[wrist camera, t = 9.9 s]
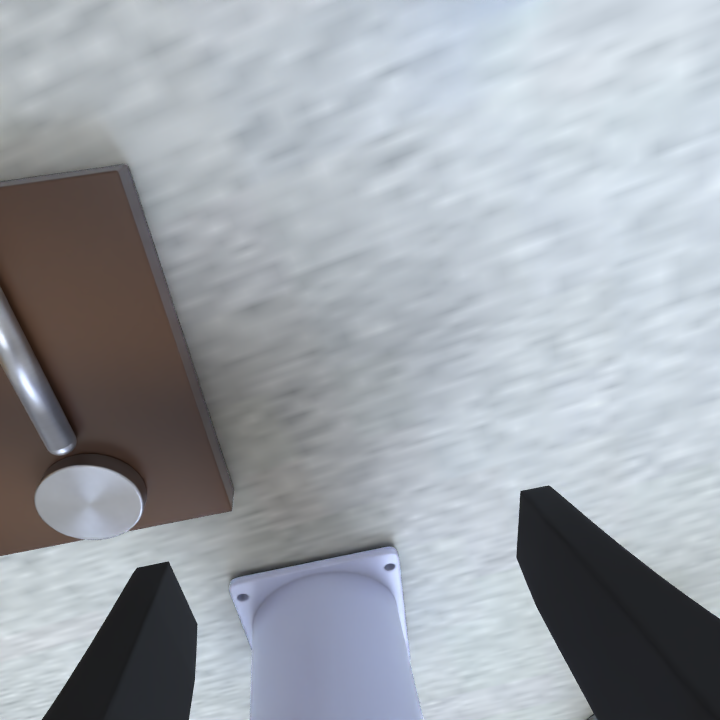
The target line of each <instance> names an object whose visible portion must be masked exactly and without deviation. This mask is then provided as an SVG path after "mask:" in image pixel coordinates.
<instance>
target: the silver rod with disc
mask: <svg viewBox="0 0 720 720" xmlns="http://www.w3.org/2000/svg"><path fill="white" fill-rule="evenodd" d="M0 364H1V366H2V368H3V370H4V371H5V373H6V375H7V377H8V379H9V381H10V382H11V384H12V386H13V388H14V390H15V392H16V393H17V395H18V397H19V399H20V401H21V402H22V404H23V406H24V408H25V410H26V412H27V413H28V415H29V417H30V419H31V421H32V423H33V424H34V426H35V428H36V430H37V432H38V433H39V435H40V437H41V439H42V441H43V443H44V444H45V446H46V448H47V450H48V451H49V452H50V453H52V454H54V455H58V456H62V455H66V454H68V453H70V452H71V451H72V450H73V449H74V448H75V446H76V443H77V440H76V436H75V434H74V432H73V430H72V428H71V426H70V424H69V422H68V420H67V418H66V416H65V414H64V412H63V410H62V408H61V406H60V404H59V402H58V400H57V398H56V396H55V394H54V392H53V390H52V388H51V386H50V384H49V382H48V380H47V378H46V376H45V374H44V372H43V370H42V368H41V366H40V364H39V362H38V360H37V358H36V356H35V354H34V352H33V350H32V348H31V346H30V344H29V342H28V341H27V339H26V337H25V335H24V333H23V331H22V329H21V327H20V325H19V323H18V321H17V319H16V317H15V315H14V313H13V311H12V309H11V307H10V305H9V303H8V301H7V299H6V297H5V295H4V293H3V291H2V289H1V287H0ZM146 499H147V490H146V486H145V483H144V481H143V479H142V478H141V476H140V475H139V474H138V473H137V472H136V471H135V470H134V469H133V468H132V467H130V466H129V465H128V464H126V463H124V462H122V461H120V460H118V459H115V458H113V457H109V456H105V455H99V454H79V455H74V456H70V457H67V458H64V459H62V460H60V461H58V462H56V463H55V464H53V465H52V466H51V467H50V468H49V469H48V470H47V471H46V472H45V474H44V475H43V477H42V479H41V481H40V482H39V484H38V486H37V488H36V491H35V495H34V502H35V507H36V510H37V512H38V514H39V516H40V517H41V518H42V520H43V521H44V522H45V523H46V524H48V525H49V526H50V527H52V528H53V529H55V530H56V531H58V532H60V533H62V534H65V535H67V536H71V537H74V538H79V539H86V540H101V539H108V538H112V537H116V536H118V535H121V534H123V533H125V532H127V531H128V530H130V529H131V528H132V527H133V526H134V525H135V524H136V523H137V522H138V521H139V519H140V518H141V516H142V513H143V510H144V507H145V503H146Z"/></svg>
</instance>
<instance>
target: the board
mask: <svg viewBox="0 0 720 720" xmlns="http://www.w3.org/2000/svg"><path fill="white" fill-rule="evenodd" d="M0 287H1V289H2V291H3V293H4V295H5V297H6V299H7V301H8V303H9V305H10V307H11V309H12V311H13V313H14V315H15V317H16V319H17V321H18V323H19V325H20V327H21V329H22V331H23V333H24V335H25V337H26V339H27V341H28V342H29V344H30V346H31V348H32V350H33V352H34V354H35V356H36V358H37V360H38V362H39V364H40V366H41V368H42V370H43V372H44V374H45V376H46V378H47V380H48V382H49V384H50V386H51V388H52V390H53V392H54V394H55V396H56V398H57V400H58V402H59V404H60V406H61V408H62V410H63V412H64V414H65V416H66V418H67V420H68V422H69V424H70V426H71V428H72V430H73V432H74V434H75V436H76V440H77V443H76V446H75V448H74V449H73V450H72V451H71V452H70V453H68V454H66V455H62V456H58V455H54V454H52V453H50V452H49V451H48V450H47V448H46V446H45V444H44V443H43V441H42V439H41V437H40V435H39V433H38V432H37V430H36V428H35V426H34V424H33V423H32V421H31V419H30V417H29V415H28V413H27V412H26V410H25V408H24V406H23V404H22V402H21V401H20V399H19V397H18V395H17V393H16V392H15V390H14V388H13V386H12V384H11V382H10V381H9V379H8V377H7V375H6V373H5V371H4V370H3V368H2V366H1V364H0V556H3V555H8V554H13V553H18V552H24V551H29V550H34V549H39V548H44V547H49V546H54V545H60V544H65V543H70V542H75V541H80V540H85V539H79V538H74V537H71V536H67V535H65V534H62V533H60V532H58V531H56V530H55V529H53V528H52V527H50V526H49V525H48V524H46V523H45V522H44V521H43V520H42V518H41V517H40V516H39V514H38V512H37V510H36V507H35V502H34V495H35V491H36V488H37V486H38V484H39V482H40V481H41V479H42V477H43V475H44V474H45V472H46V471H47V470H48V469H49V468H50V467H51V466H52V465H53V464H55V463H56V462H58V461H60V460H62V459H64V458H67V457H70V456H74V455H79V454H99V455H105V456H109V457H113V458H115V459H118V460H120V461H122V462H124V463H126V464H128V465H129V466H130V467H132V468H133V469H134V470H135V471H136V472H137V473H138V474H139V475H140V476H141V478H142V479H143V481H144V483H145V486H146V490H147V499H146V503H145V507H144V510H143V513H142V516H141V518H140V519H139V521H138V522H137V523H136V524H135V525H134V526H133V527H132V528H131V529H130V530H128V531H132V530H137V529H142V528H147V527H152V526H157V525H162V524H168V523H173V522H178V521H183V520H188V519H193V518H198V517H204V516H209V515H214V514H219V513H224V512H229V511H232V507H233V495H234V489H233V486H232V483H231V480H230V477H229V474H228V471H227V467H226V464H225V461H224V458H223V455H222V452H221V449H220V446H219V443H218V440H217V437H216V434H215V431H214V428H213V424H212V421H211V418H210V415H209V412H208V409H207V406H206V403H205V400H204V397H203V394H202V391H201V388H200V385H199V381H198V378H197V375H196V372H195V369H194V366H193V363H192V360H191V357H190V354H189V351H188V348H187V345H186V342H185V338H184V335H183V332H182V329H181V326H180V323H179V320H178V317H177V314H176V311H175V308H174V305H173V302H172V299H171V295H170V292H169V289H168V286H167V283H166V280H165V277H164V274H163V271H162V268H161V265H160V262H159V259H158V256H157V252H156V249H155V246H154V243H153V240H152V237H151V234H150V231H149V228H148V225H147V222H146V219H145V216H144V213H143V210H142V206H141V203H140V200H139V197H138V194H137V191H136V188H135V185H134V182H133V179H132V176H131V173H130V170H129V167H128V165H126V164H122V165H115V166H108V167H101V168H94V169H87V170H80V171H73V172H66V173H59V174H52V175H45V176H38V177H31V178H23V179H16V180H9V181H2V182H0Z"/></svg>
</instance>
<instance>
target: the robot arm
mask: <svg viewBox="0 0 720 720" xmlns="http://www.w3.org/2000/svg"><path fill="white" fill-rule="evenodd" d="M517 560H518V562H519V565H520V567H521V570H522V572H523V575H524V578H525V580H526V583H527V585H528V587H529V590H530V592H531V595H532V597H533V599H534V602H535V604H536V606H537V608H538V610H539V612H540V614H541V616H542V618H543V620H544V622H545V624H546V625H547V627H548V629H549V631H550V633H551V635H552V637H553V639H554V640H555V642H556V644H557V646H558V648H559V650H560V652H561V653H562V655H563V657H564V659H565V661H566V663H567V664H568V666H569V668H570V670H571V672H572V674H573V676H574V677H575V679H576V681H577V683H578V685H579V687H580V689H581V690H582V692H583V694H584V696H585V698H586V700H587V702H588V703H589V705H590V707H591V709H592V711H593V713H594V714H595V716H596V718H597V720H720V619H719V618H718V617H716V616H715V615H713V614H712V613H710V612H709V611H708V610H706V609H705V608H703V607H702V606H700V605H699V604H698V603H696V602H695V601H694V600H692V599H691V598H689V597H688V596H687V595H685V594H684V593H682V592H681V591H680V590H678V589H677V588H675V587H674V586H673V585H671V584H670V583H669V582H667V581H666V580H665V579H663V578H662V577H661V576H659V575H658V574H657V573H655V572H654V571H653V570H652V569H650V568H649V567H648V566H646V565H645V564H644V563H643V562H641V561H640V560H639V559H638V558H636V557H635V556H634V555H632V554H631V553H630V552H629V551H627V550H626V549H625V548H624V547H622V546H621V545H620V544H619V543H617V542H616V541H615V540H614V539H612V538H611V537H610V536H609V535H608V534H606V533H605V532H604V531H603V530H602V529H600V528H599V527H598V526H597V525H595V524H594V523H593V522H592V521H591V520H590V519H588V518H587V517H586V516H585V515H584V514H582V513H581V512H580V511H579V510H578V509H577V508H575V507H574V506H573V505H572V504H571V503H570V502H568V501H567V500H566V499H565V498H564V497H562V496H561V495H560V494H559V493H558V492H557V491H555V490H554V489H553V488H552V487H550V486H544V487H539V488H534V489H529V490H524V491H521V493H520V509H519V525H518V541H517ZM229 592H230V595H231V597H232V600H233V603H234V605H235V608H236V610H237V613H238V616H239V618H240V621H241V623H242V626H243V629H244V631H245V634H246V636H247V639H248V642H249V644H250V647H251V649H252V666H251V696H250V720H424V719H423V715H422V710H421V706H420V702H419V698H418V693H417V689H416V685H415V681H414V677H413V672H412V668H411V664H410V651H409V642H408V633H407V624H406V615H405V606H404V597H403V588H402V579H401V571H400V562H399V555H398V552H397V549H395V548H394V547H383V548H378V549H373V550H368V551H364V552H359V553H354V554H349V555H344V556H339V557H334V558H329V559H324V560H320V561H315V562H310V563H305V564H300V565H295V566H290V567H285V568H280V569H275V570H271V571H266V572H261V573H256V574H251V575H246V576H241V577H237V578H235V579H233V580H232V581H231V582H230V587H229ZM196 646H197V622H196V620H195V618H194V616H193V614H192V611H191V609H190V607H189V605H188V603H187V600H186V598H185V596H184V594H183V592H182V590H181V587H180V585H179V583H178V581H177V579H176V576H175V574H174V572H173V570H172V568H171V566H170V563H169V562H164V563H159V564H154V565H149V566H144V567H139V568H137V569H136V570H135V571H134V573H133V574H132V576H131V578H130V579H129V581H128V583H127V584H126V586H125V588H124V589H123V591H122V593H121V595H120V596H119V598H118V600H117V601H116V603H115V605H114V606H113V608H112V610H111V611H110V613H109V615H108V616H107V618H106V620H105V621H104V623H103V625H102V626H101V628H100V630H99V631H98V633H97V635H96V636H95V638H94V640H93V641H92V643H91V645H90V646H89V648H88V649H87V651H86V653H85V654H84V656H83V657H82V659H81V660H80V662H79V664H78V665H77V667H76V668H75V670H74V672H73V673H72V675H71V676H70V678H69V679H68V681H67V683H66V684H65V686H64V687H63V689H62V690H61V692H60V694H59V695H58V697H57V698H56V700H55V701H54V703H53V704H52V706H51V707H50V709H49V710H48V711H47V713H46V714H45V716H44V717H43V719H42V720H189V715H190V708H191V702H192V695H193V688H194V681H195V666H196Z"/></svg>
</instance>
